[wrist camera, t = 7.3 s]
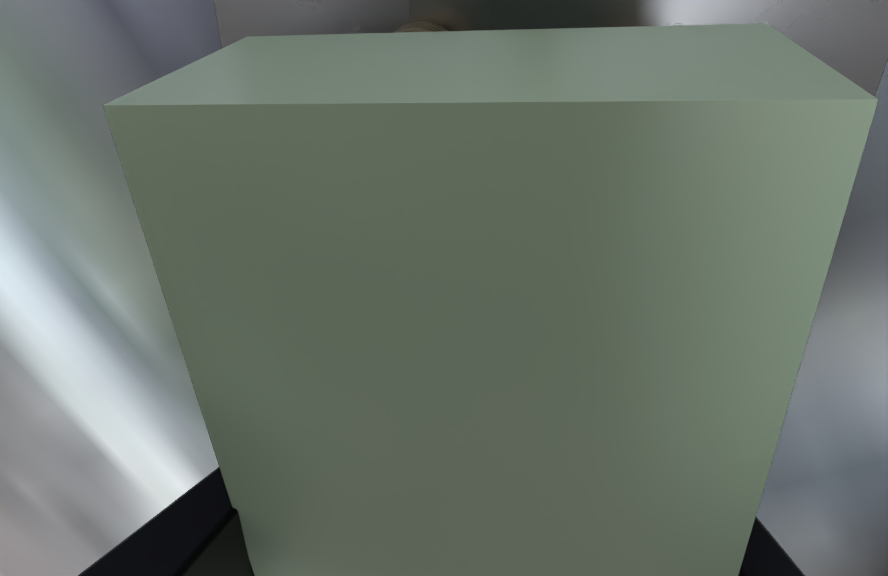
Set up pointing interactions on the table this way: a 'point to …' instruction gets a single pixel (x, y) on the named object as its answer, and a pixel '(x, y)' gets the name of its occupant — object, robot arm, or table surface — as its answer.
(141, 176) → the green block
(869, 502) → the table surface
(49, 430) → the table surface
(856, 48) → the standoff chassis
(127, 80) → the table surface
